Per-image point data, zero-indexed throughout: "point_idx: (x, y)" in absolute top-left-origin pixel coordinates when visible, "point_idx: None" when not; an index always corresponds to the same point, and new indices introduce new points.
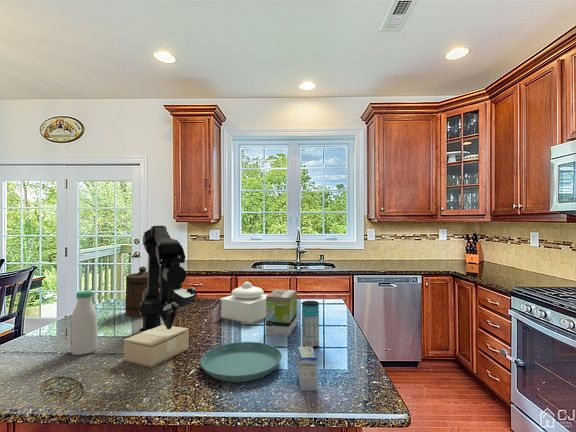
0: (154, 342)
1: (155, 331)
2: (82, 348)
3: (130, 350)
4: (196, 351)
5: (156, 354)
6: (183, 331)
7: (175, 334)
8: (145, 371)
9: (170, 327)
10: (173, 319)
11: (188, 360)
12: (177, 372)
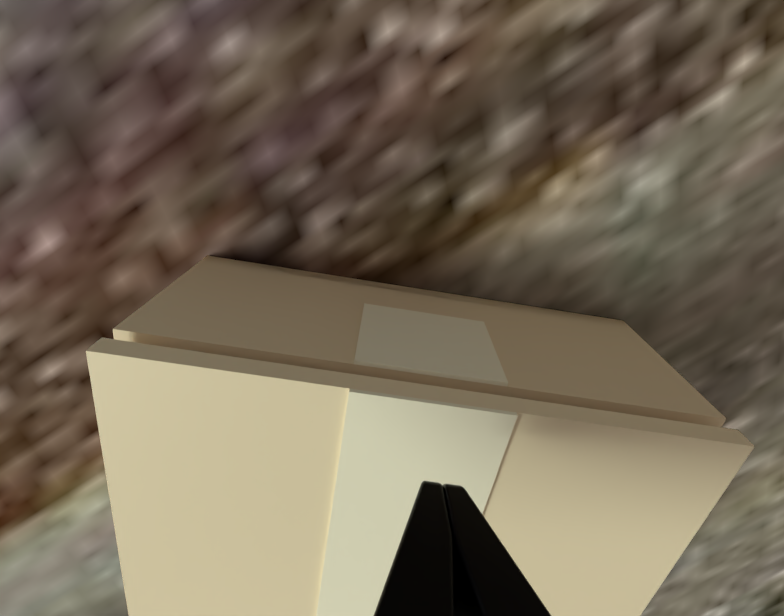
0: (698, 447)
1: (345, 606)
2: None
3: None
4: (223, 148)
5: (615, 357)
6: (201, 359)
7: (358, 385)
8: (687, 324)
9: (447, 498)
10: (409, 610)
11: (437, 102)
12: (709, 46)
